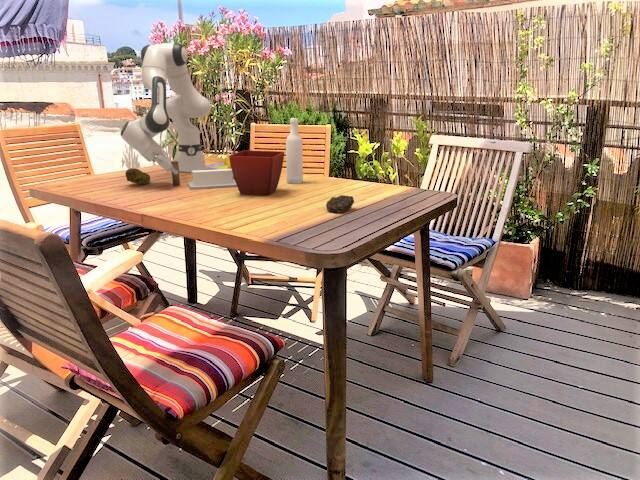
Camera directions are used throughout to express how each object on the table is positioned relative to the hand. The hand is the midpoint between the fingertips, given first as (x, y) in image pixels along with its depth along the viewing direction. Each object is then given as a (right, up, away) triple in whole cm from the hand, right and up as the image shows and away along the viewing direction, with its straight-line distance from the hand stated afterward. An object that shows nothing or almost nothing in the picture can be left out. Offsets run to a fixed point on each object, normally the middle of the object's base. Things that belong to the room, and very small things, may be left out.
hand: (176, 172), depth 243 cm
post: (-1, -6, +1) cm, 6 cm away
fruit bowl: (+23, +1, +26) cm, 35 cm away
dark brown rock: (+73, -20, -46) cm, 89 cm away
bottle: (+54, -4, +9) cm, 55 cm away
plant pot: (+39, -11, -14) cm, 43 cm away
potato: (-18, -5, +4) cm, 19 cm away
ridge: (+17, -6, +1) cm, 17 cm away
